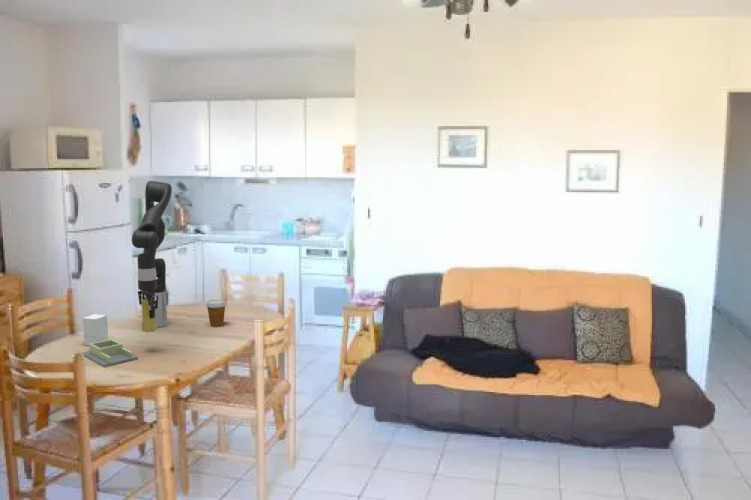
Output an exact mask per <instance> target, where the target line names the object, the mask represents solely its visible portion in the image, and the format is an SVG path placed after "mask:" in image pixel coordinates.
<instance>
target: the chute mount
mask: <svg viewBox="0 0 751 500" xmlns="http://www.w3.org/2000/svg"><path fill="white" fill-rule="evenodd" d="M82 353H83V354H84V355H85V356H86V357H85V356H84V357H85V358H87V359H89V360H90V359H91V360H90V361H92V360H93V361H92V362H94V361H95V362H94V363H96V364H98V365H100V366H101V365H102V366H101V367H103V366H104V367H103V368H107V367H106V366H108V367H111V365H112V366H115V365H119V364H124V363H128V362H133V361H137V360H138V359H139V357H138V356H136V355H135V354H134V352H133V351H131V350H130V349H126V348H125V347H124V345H123V343H122V342H120V341H118V340H115V339H112V338H111V339H108V340H105V341H101V342H96V343H91V344H89V346H88V350H87V351H84V352H81V354H82Z"/></svg>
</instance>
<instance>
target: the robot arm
mask: <svg viewBox="0 0 751 500" xmlns="http://www.w3.org/2000/svg"><path fill="white" fill-rule="evenodd" d="M172 190H173V189H172V185H171V184H170V183H168V182H163V181H156V180H149V181H147V182H146V185H145V191H144V196H145V197H144V198H145V213H144V214H143V216H142V221H141V223H140V224H139V225H138V227H137V229H135V230H134V232H133V234H132V237H131V243H132V245H133V247H135V248H136V249H143V250H142V251H143V252H142V253H140V254H138V255H137V259H136V260H137V288H138V291H137V296H138V303H139V305H140V306H141V307H142V301H141V299H146V300H147V305H148V307H149V318H151V319H152V318H155V314H156V328H157V329H158V328H163V327H166V326H168V313H167V311H168V309H167V307H168V306H167V290H166V287H167V285H166V274H167V273H166V271H167V270H166V269H167V266H166V262H165V260H164V258H163V257H161V258H159V257H158V258H156V253H157V249H158V248H159V247H160V246H161V245H162V243H163V242H164V239H165V233H166V225H165V222H164V220H163V219H162V216H163V215H164V213H165V211H166V209H167V207H168V205H169V203H170V201H171V197H172V192H173V191H172ZM155 203H157V204H155ZM148 300H149V301H151V303H149V301H148Z"/></svg>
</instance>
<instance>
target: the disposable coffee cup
mask: <svg viewBox="0 0 751 500" xmlns="http://www.w3.org/2000/svg"><path fill="white" fill-rule="evenodd" d="M226 305H227V302H226V301H225V300H224V299H210V300H208V301H206V308H207V314H208V319H209V325H210V327H213V328H218V327H222V326H224V324H225V323H224V321H225V313H226V312H225V311H226Z"/></svg>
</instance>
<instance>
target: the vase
mask: <svg viewBox="0 0 751 500" xmlns="http://www.w3.org/2000/svg"><path fill="white" fill-rule="evenodd" d="M141 301H142V306H141V314H142V315H141V316H142V317H141V318H142V320H141V321H142V322H141V331H142V332H144V333H152V332H156V331H157V329H158V327H157V328H156V314H155V318H152V319H151V318H149V307H148V305H147V300H146V299H141ZM148 301H149V300H148ZM149 303H151V301H149Z"/></svg>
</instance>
